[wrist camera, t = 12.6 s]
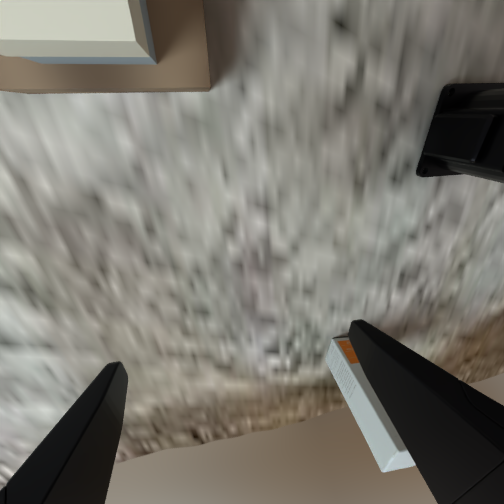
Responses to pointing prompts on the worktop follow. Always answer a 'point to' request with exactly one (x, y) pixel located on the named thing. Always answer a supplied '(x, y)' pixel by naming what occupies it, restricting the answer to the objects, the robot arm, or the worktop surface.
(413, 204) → the worktop surface
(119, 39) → the lid plate
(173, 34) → the walnut stand
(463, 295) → the worktop surface
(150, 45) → the base plate
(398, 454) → the skincare box
